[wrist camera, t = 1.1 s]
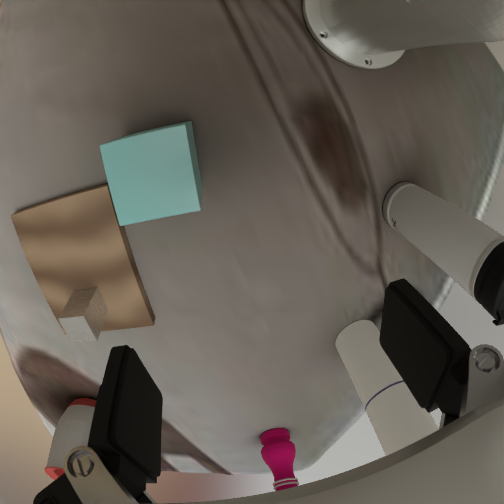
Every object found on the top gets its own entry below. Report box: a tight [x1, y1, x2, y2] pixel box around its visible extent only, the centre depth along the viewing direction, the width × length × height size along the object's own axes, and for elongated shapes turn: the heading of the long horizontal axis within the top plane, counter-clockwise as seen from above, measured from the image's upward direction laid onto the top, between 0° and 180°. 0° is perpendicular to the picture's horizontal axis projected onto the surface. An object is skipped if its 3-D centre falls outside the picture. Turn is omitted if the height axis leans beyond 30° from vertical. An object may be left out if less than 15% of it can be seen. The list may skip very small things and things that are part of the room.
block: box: [58, 287, 108, 343], centre depth 30 cm, size 4×4×6 cm
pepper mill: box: [261, 428, 299, 491], centre depth 46 cm, size 7×7×20 cm
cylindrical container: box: [335, 320, 439, 456], centre depth 32 cm, size 7×7×25 cm
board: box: [11, 183, 155, 334], centre depth 31 cm, size 18×14×2 cm
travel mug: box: [383, 182, 504, 325], centre depth 25 cm, size 6×7×20 cm
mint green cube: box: [100, 121, 202, 226], centre depth 24 cm, size 7×7×8 cm
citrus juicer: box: [45, 398, 97, 480], centre depth 37 cm, size 16×17×20 cm
